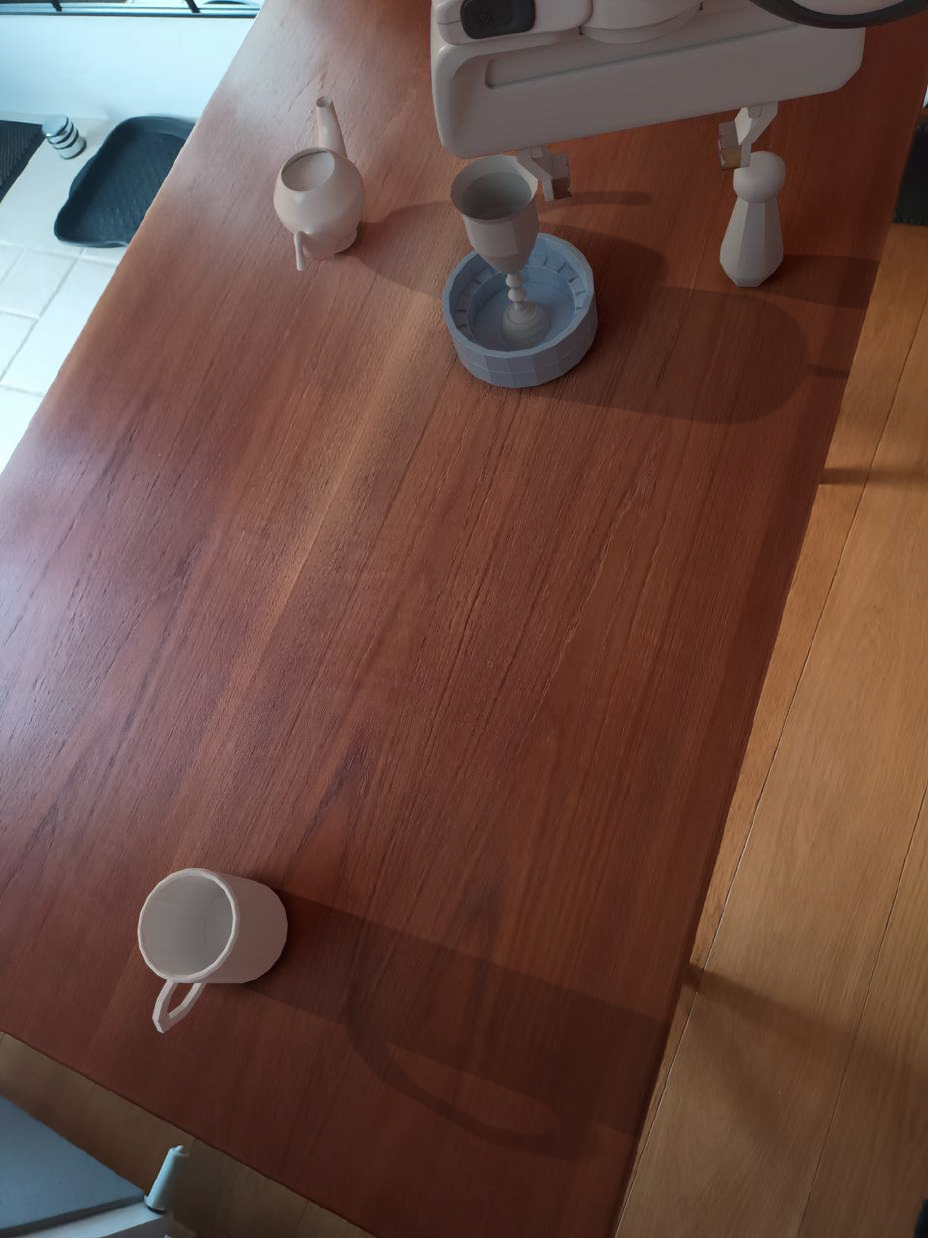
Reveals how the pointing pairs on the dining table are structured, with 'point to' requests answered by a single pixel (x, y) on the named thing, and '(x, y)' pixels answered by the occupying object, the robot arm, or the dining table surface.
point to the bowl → (482, 299)
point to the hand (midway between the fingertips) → (644, 175)
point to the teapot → (320, 192)
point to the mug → (208, 934)
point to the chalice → (504, 235)
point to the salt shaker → (755, 222)
